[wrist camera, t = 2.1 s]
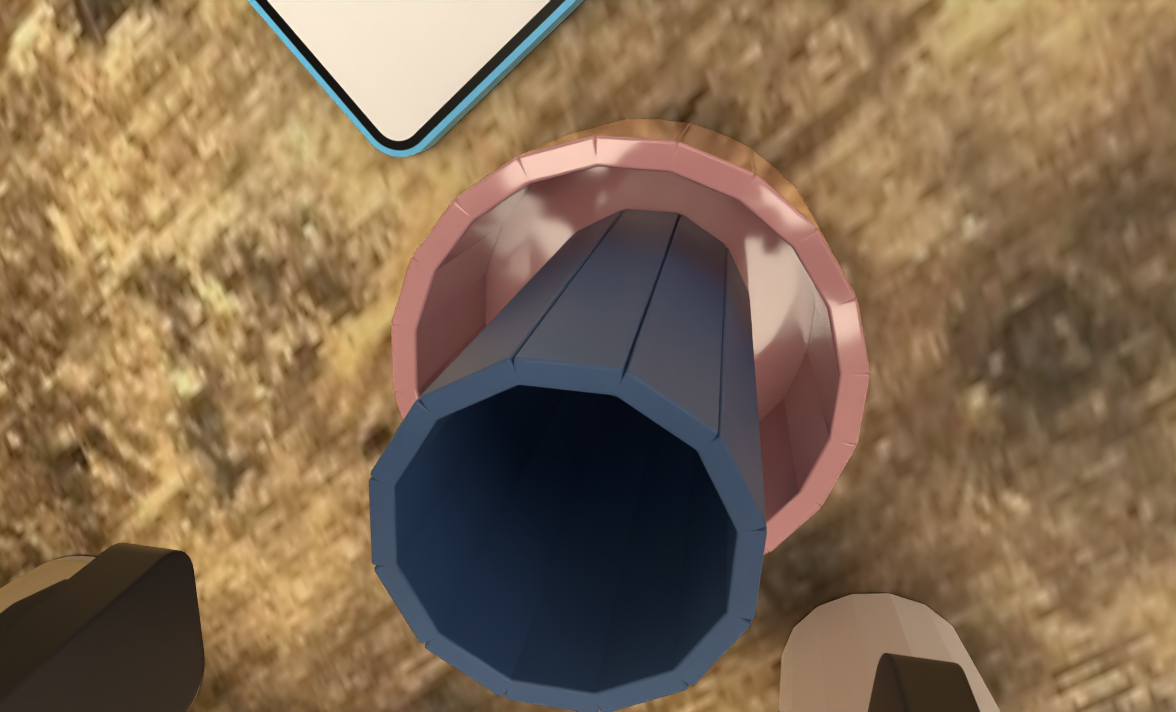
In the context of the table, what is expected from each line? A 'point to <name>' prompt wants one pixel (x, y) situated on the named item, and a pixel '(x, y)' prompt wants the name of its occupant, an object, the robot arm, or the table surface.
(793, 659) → the white cylinder
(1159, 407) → the table surface
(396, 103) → the smartphone
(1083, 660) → the table surface
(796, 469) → the pink cup
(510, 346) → the blue cup
